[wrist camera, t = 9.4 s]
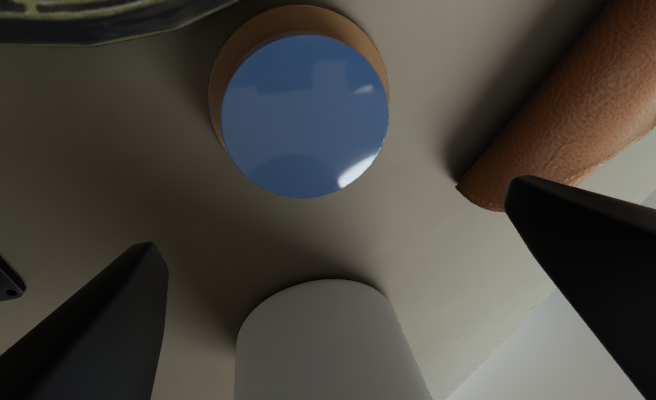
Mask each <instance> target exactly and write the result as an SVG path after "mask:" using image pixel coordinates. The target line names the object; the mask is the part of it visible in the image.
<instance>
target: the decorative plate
mask: <svg viewBox="0 0 656 400" xmlns="http://www.w3.org/2000/svg"><path fill="white" fill-rule="evenodd" d="M240 1H243V0H0V46H62V47H98V46H103V45H108V44H113V43H118V42H123V41H128V40H133V39H138V38H143V37H148V36H153V35H158V34H163V33H168V32H173V31H177V30H180V29H182V28H184V27H186V26H188V25H190V24H193V23H195V22H197V21H199V20H201V19H203V18H206V17H208V16H210V15H212V14H214V13H217V12H219V11H221V10H223V9H225V8H227V7H230V6H232V5H234V4H236V3H238V2H240Z"/></svg>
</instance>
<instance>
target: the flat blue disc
mask: <svg viewBox="0 0 656 400" xmlns="http://www.w3.org/2000/svg"><path fill="white" fill-rule="evenodd" d="M388 117H389V113H388V101H387V95H386V92H385V89H384V85H383V83H382V81H381V79H380V77H379V75H378V73H377V72H376V70H375V69H374V67H373V66H372V65H371V63H370V62H369V61H368V60H367V59H366V58H365V57H364V56H363V55H362V54H361V53H359V52H358V51H357V50H356V49H354V48H353V47H351V46H350V45H348V44H346V43H345V42H343V41H342V40H340V39H338V38H336V37H334V36H331V35H329V34H326V33H322V32H318V31H311V30H293V31H288V32H282V33H279V34H276V35H274V36H271V37H269V38H267V39H265V40H263V41H261V42H260V43H258V44H257V45H255V46H254V47H253V48H251V49H250V50H249V51H248V52H247V53H246V54H245V55H244V56H243V57H242V58H241V60H240V61H239V62H238V64H237V65H236V66H235V68H234V70H233V72H232V73H231V75H230V77H229V80H228V83H227V85H226V89H225V92H224V96H223V101H222V105H221V115H220V122H221V132H222V137H223V141H224V144H225V146H226V149H227V152H228V153H229V155H230V157H231V159H232V161H233V162H234V164H235V165H236V166H237V168H238V169H239V170H240V171H241V172H242V173H243V174H244V175H245V176H246V177H247V178H248V179H249V180H251V181H252V182H253V183H255V184H256V185H258V186H259V187H261V188H263V189H265V190H267V191H269V192H271V193H274V194H277V195H281V196H285V197H292V198H312V197H319V196H323V195H327V194H330V193H333V192H335V191H337V190H340V189H342V188H344V187H345V186H347V185H349V184H350V183H352V182H353V181H354V180H356V179H357V178H358V177H360V176H361V175H362V174H363V173H364V172H365V171H366V170H367V168H368V167H369V166H370V165H371V164H372V162H373V161H374V159H375V158H376V156H377V155H378V153H379V151H380V149H381V147H382V144H383V142H384V139H385V136H386V131H387V127H388Z"/></svg>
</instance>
